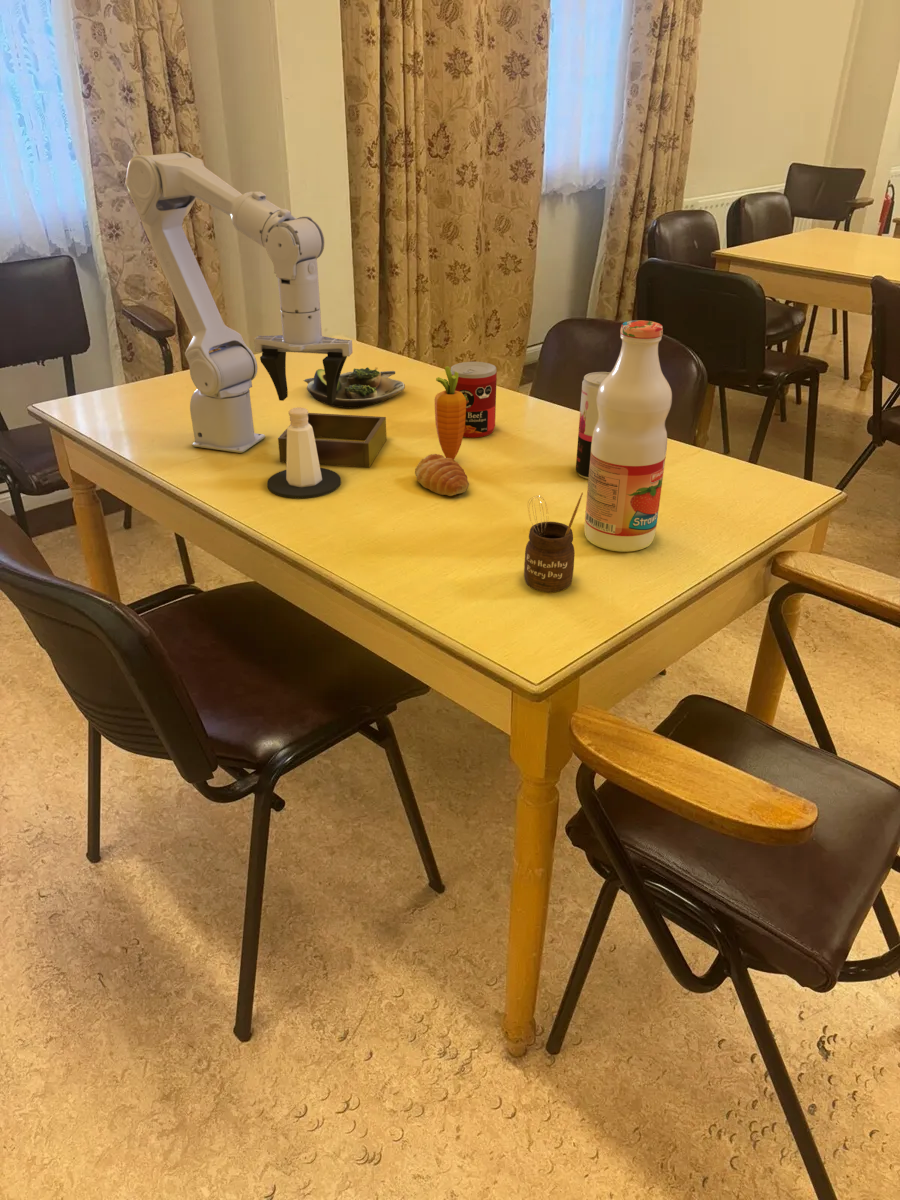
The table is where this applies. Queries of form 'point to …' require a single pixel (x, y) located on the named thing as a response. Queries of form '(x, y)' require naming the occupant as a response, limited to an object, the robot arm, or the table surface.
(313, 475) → the salt shaker
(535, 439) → the table surface
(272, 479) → the mat
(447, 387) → the carrot
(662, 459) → the fruit juice
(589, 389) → the beverage can
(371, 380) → the salad plate
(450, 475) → the pastry
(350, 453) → the rectangular frame
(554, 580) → the utensil holder
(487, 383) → the canned food
